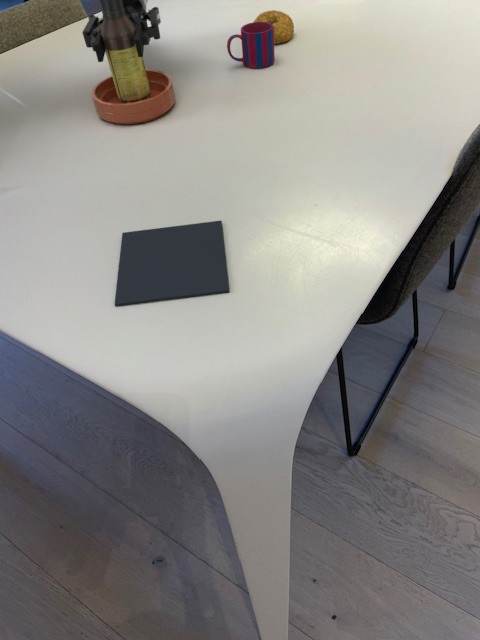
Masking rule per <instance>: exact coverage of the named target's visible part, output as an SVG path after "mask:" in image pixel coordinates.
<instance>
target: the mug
mask: <svg viewBox="0 0 480 640" xmlns="http://www.w3.org/2000/svg"><path fill="white" fill-rule="evenodd" d="M237 38H238V39H240V40H241V51H242V52H241V53H242V57H237V56H234V55H233V54H232V51H231V43H232V41H233V40H234V39H237ZM226 49H227V53H228V56H229V58H231V59H232V60H234V61H236V62H241V63H243V66H244V67H246V68H249V69H253V70H254V69H255V70H256V69H257V70H258V69H260V70H261V69H265V68H268V67H271V66H272V65H273V64H274V63H275V44H274V26H273V25H272V24H271V23H268V22H254V21H253V22H249V23H246V24H244V25H242V26H241V28H240V34H232V35H231V36H229V38H228V40H227V42H226Z"/></svg>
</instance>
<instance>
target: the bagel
mask: <svg viewBox="0 0 480 640" xmlns="http://www.w3.org/2000/svg"><path fill="white" fill-rule="evenodd" d="M253 22H268V23H271V24H272V25H273V26H274V45H275V44H276V45H277V44H282V43H286V42H288V41H289V40H290V39H291V38H292V36H293V34H294V33H295V30H294V29H295V24H294V22H293V18H291V16H290V15H289V14H287V13H286V12H283V11H280V10H276V9H273V10H267V11H263V12H261V13H259V14H258V15H257V16H256V18H255V19H254V20H253Z"/></svg>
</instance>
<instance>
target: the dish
mask: <svg viewBox="0 0 480 640" xmlns="http://www.w3.org/2000/svg"><path fill="white" fill-rule="evenodd" d="M145 70H146V74H147V79H148V83H149V87H150V95H151V98H149V99H146V100H142V101H138V102H133V103H125V104H120V99H119V98H118V95H117V92H116V88H115V84H114V81H113V77H112V75H111V76H108V77H106V78H104V79H102V80H101V81H99V82H98V83H97V84H96V85H95V86H94V87H93V88H92V91H91V99H92V101H93V104H94V107H95V110H96V114H97V115H98V117H99V118H100V119H102V120H104V121H106V122H110V123H113V124H116V125H135V124H141V123H147V122H150V121H152V120H156V119H157V118H159V117H162V116H163V115H164V114H166V113H167V112H168V111H169V110H170V109H172V107H173V106H174V105H175V102H176V93H175V88H174V84H173V82H174V81H173V78H172V77H171V76H170V75H169V74H168V73H165V72H163V71H160V70H156V69H155V70H154V69H145Z"/></svg>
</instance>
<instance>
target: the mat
mask: <svg viewBox="0 0 480 640" xmlns="http://www.w3.org/2000/svg"><path fill="white" fill-rule="evenodd" d="M222 221H223V220H214V221H213V220H212V221H206V222H199V223H190V224H189V223H188V224H182V225H175V226H174V225H173V226H167V227H165V226H164V227H158V228H157V227H156V228H149V229H141V230H133V231H124V232H122V234H121V241H120V251H119V260H118V269H117V278H116V285H115V286H116V287H115V288H116V289H115V298H114V307H123V306H128V305H137V304H138V305H139V304H147V303H152V302H153V303H154V302H161V301H162V302H163V301H170V300H176V299H187V298H194V297H201V296H211V295H217V294H226V293H230V284H229V276H228V275H229V274H228V265H227V257H226V247H225V246H226V245H225V237H224V230H223V229H224V227H223V222H222Z"/></svg>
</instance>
